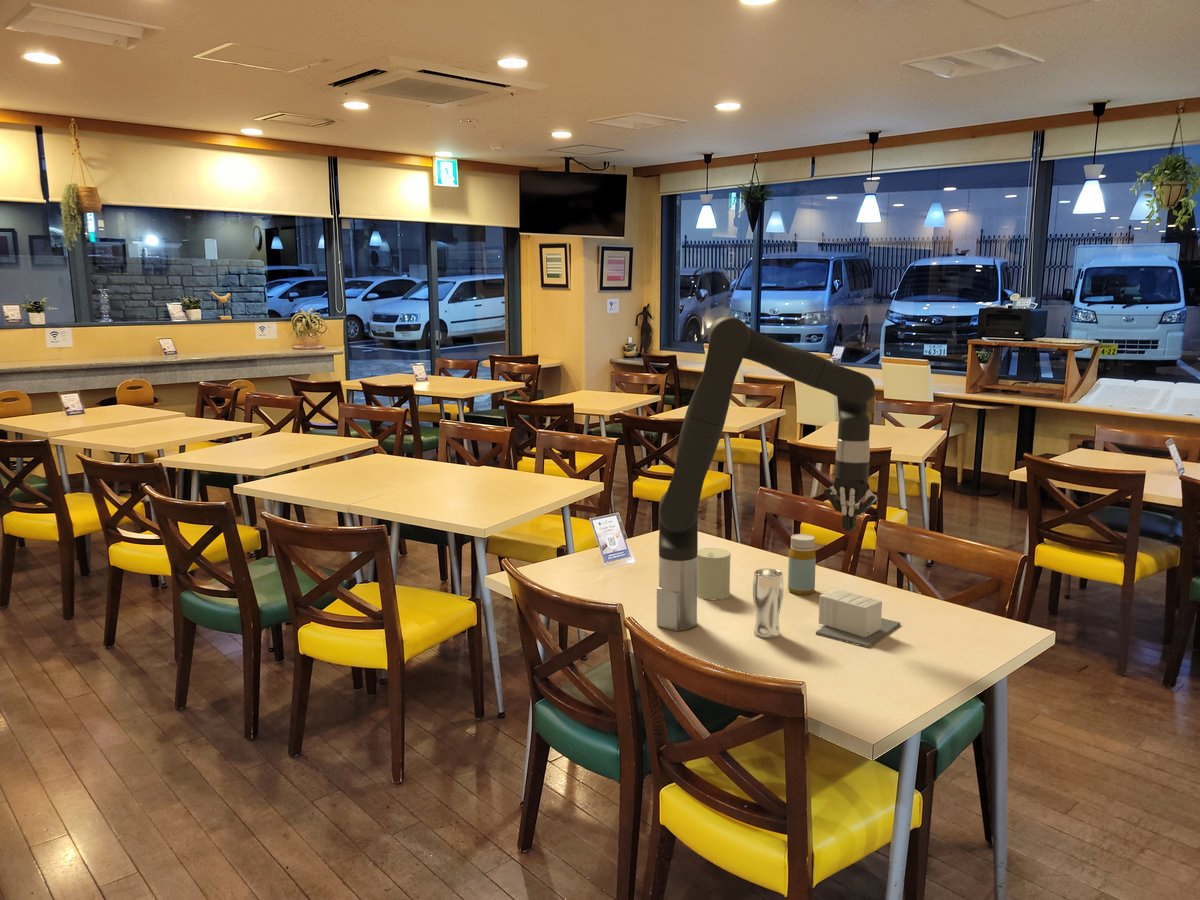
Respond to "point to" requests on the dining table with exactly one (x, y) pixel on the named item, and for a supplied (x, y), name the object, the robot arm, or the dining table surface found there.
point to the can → (713, 573)
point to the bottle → (802, 564)
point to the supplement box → (850, 612)
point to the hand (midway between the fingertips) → (848, 530)
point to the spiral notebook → (867, 641)
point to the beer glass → (767, 601)
